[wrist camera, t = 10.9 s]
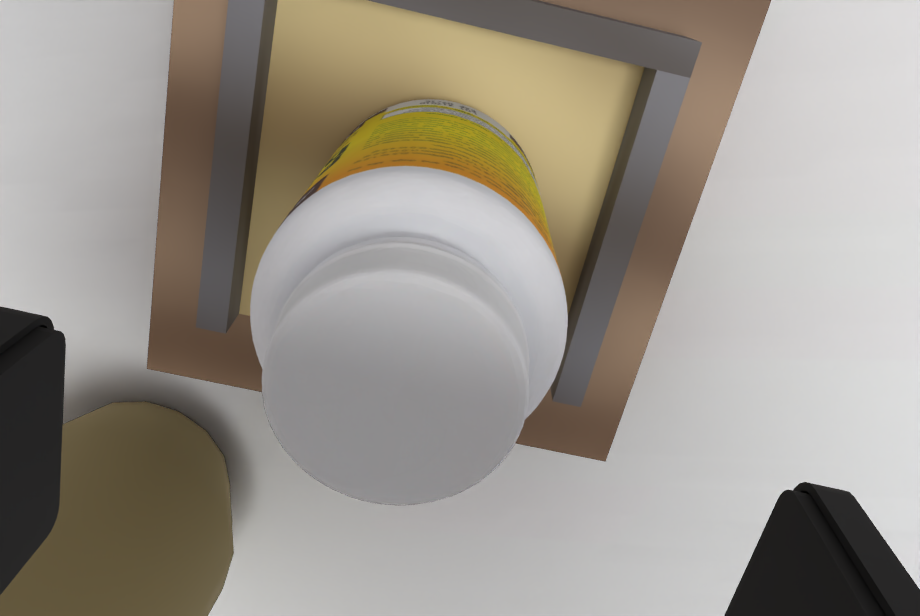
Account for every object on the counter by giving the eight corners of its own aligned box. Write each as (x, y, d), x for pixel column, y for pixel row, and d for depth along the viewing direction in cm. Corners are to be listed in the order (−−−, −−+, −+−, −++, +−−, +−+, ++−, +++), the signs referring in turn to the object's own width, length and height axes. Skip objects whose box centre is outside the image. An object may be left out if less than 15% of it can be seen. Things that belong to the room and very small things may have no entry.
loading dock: (592, 410, 27) (613, 491, 23) (181, 325, 26) (126, 394, 22) (740, -24, 22) (802, -19, 17) (225, -153, 20) (162, -181, 16)
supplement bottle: (346, 71, 20) (226, 169, 10) (563, 123, 20) (640, 263, 11) (311, 275, 22) (185, 512, 12) (507, 319, 22) (529, 580, 13)
